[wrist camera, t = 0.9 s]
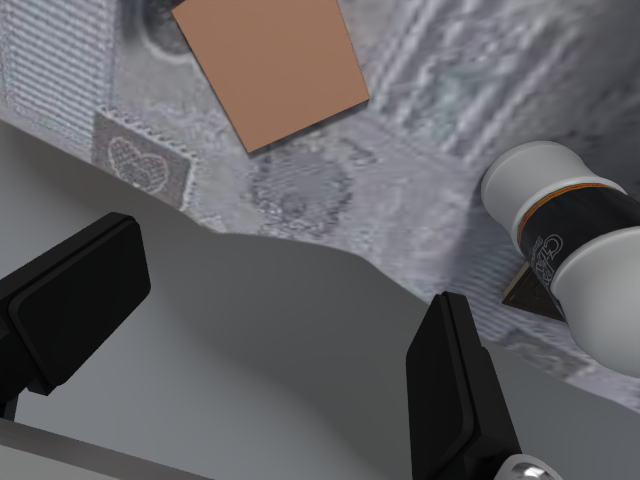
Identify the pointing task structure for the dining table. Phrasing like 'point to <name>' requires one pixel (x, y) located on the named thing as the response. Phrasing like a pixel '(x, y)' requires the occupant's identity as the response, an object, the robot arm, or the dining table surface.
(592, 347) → the vodka
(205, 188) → the dining table surface
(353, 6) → the dining table surface
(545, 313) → the hardcover book
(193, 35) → the mat
